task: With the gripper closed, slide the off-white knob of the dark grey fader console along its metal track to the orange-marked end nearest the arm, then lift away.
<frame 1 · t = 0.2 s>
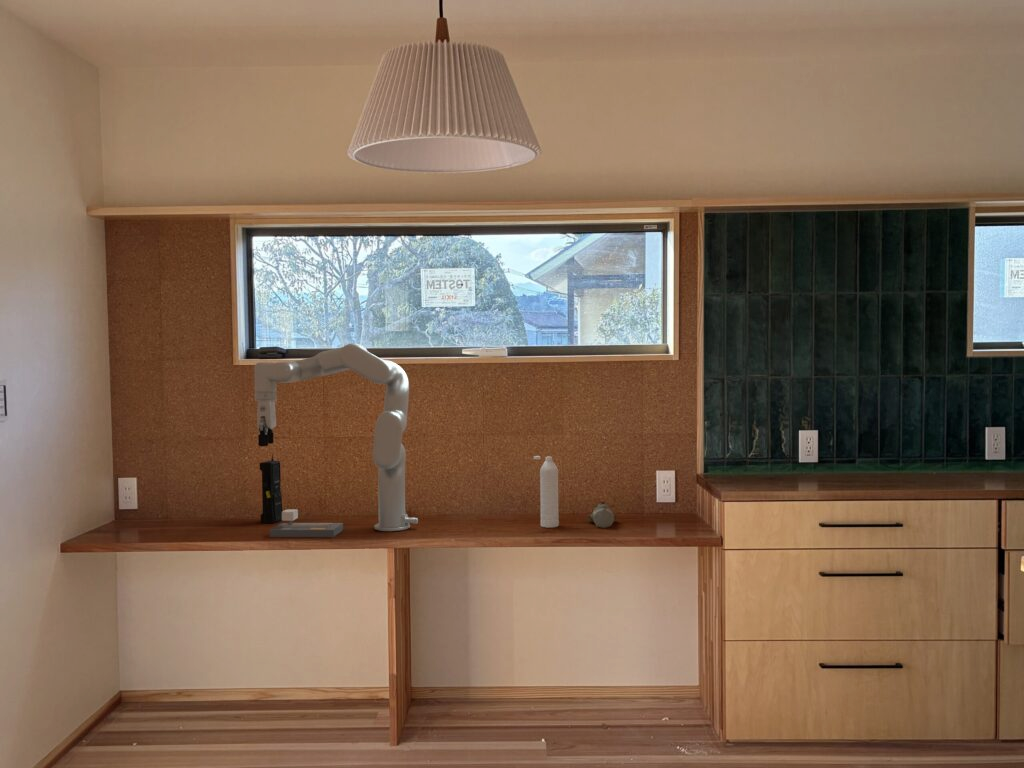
hand: (266, 444, 286), 30 cm above the table, fingers open, 9 cm apart
ceramic sculpture: (602, 525, 287), on the table
fader console: (307, 533, 278), on the table
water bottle: (546, 526, 286), on the table
portable radio: (271, 522, 300), on the table
fader knob: (289, 517, 278), point 5 cm above the table, slide at 0.0 cm
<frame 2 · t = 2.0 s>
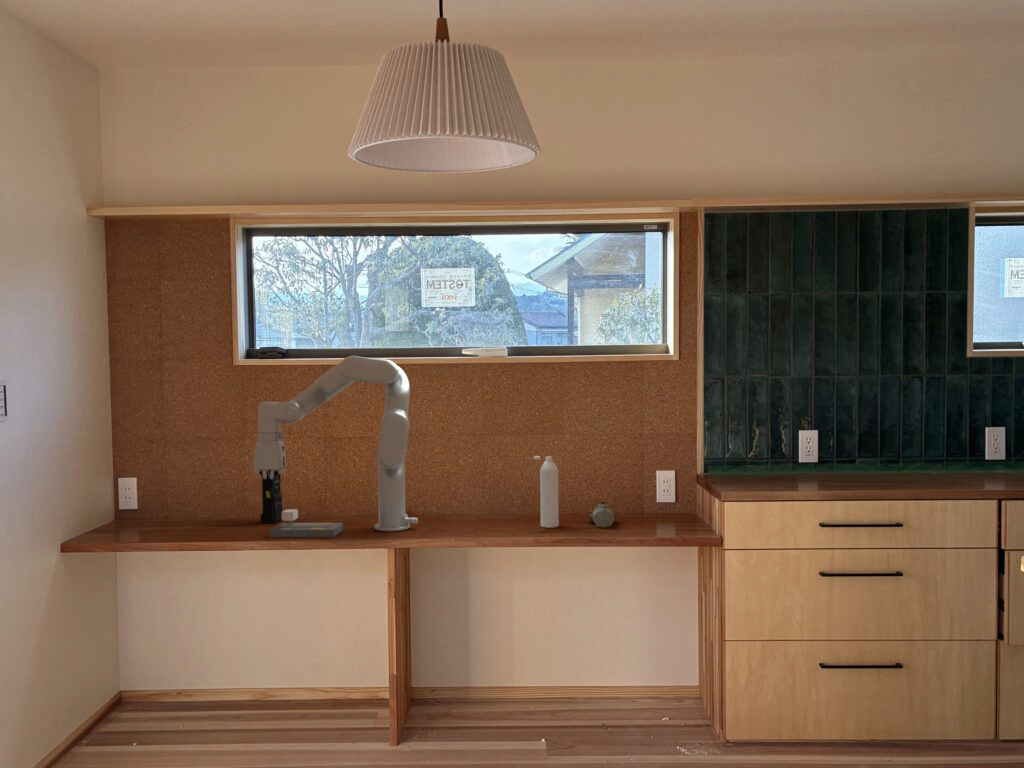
hand: (269, 489, 278), 15 cm above the table, fingers closed
nothing on the table moved.
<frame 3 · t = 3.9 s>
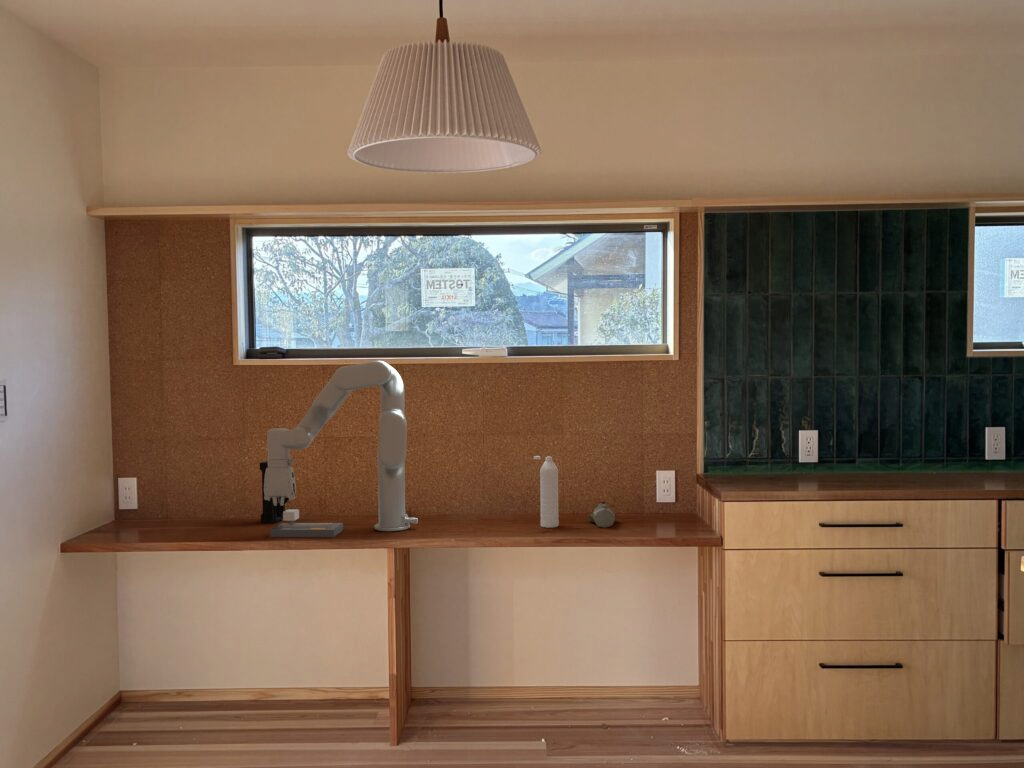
hand: (280, 516, 278), 6 cm above the table, fingers closed
fader knob: (291, 517, 278), point 5 cm above the table, slide at 0.4 cm, touching gripper
everything else where it was.
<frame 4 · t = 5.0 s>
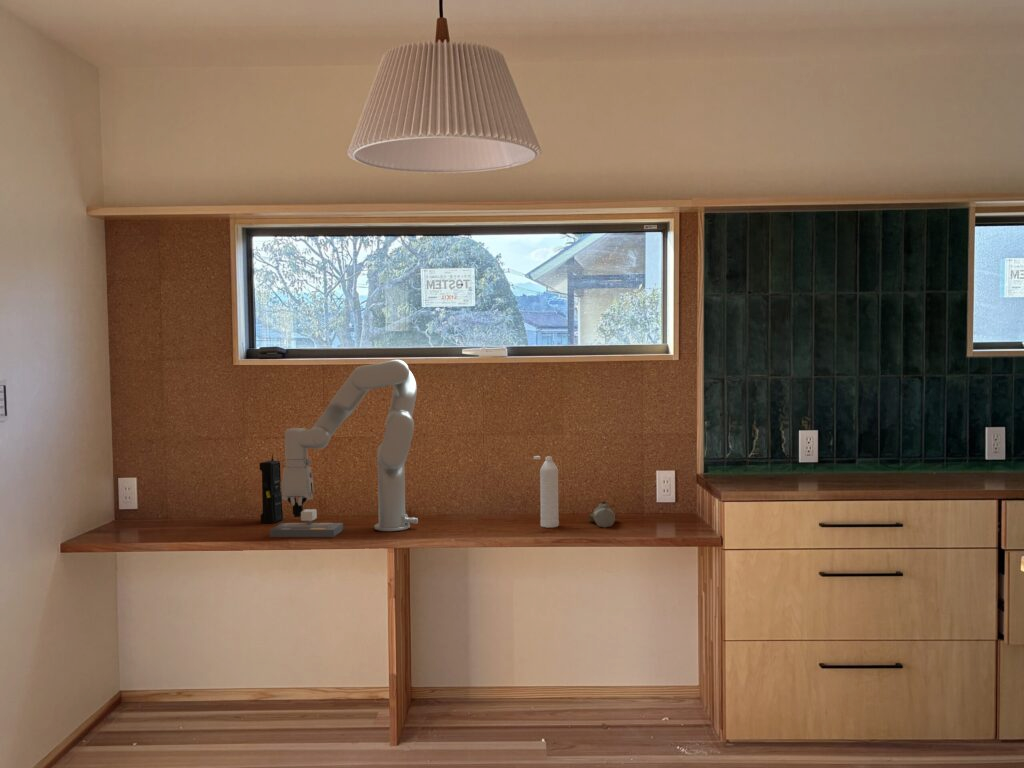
hand: (297, 516, 278), 6 cm above the table, fingers closed
fader knob: (308, 517, 278), point 5 cm above the table, slide at 6.7 cm, touching gripper
everything else where it was.
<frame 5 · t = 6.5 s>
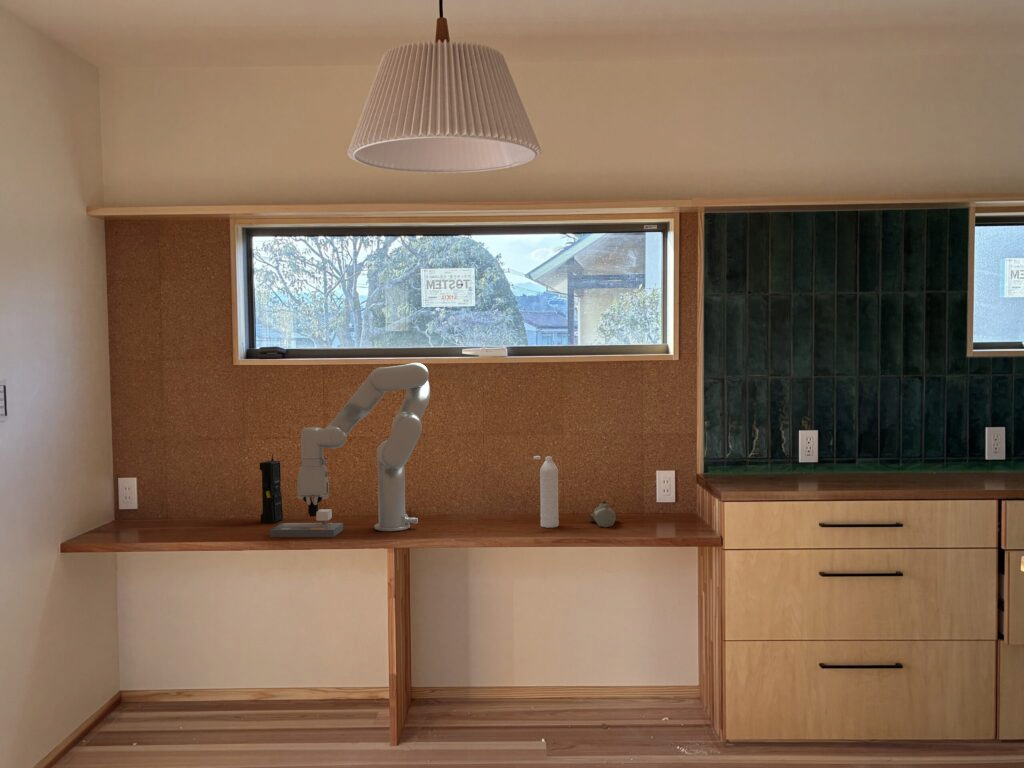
hand: (313, 515, 278), 6 cm above the table, fingers closed
fader knob: (324, 517, 277), point 5 cm above the table, slide at 12.1 cm, touching gripper
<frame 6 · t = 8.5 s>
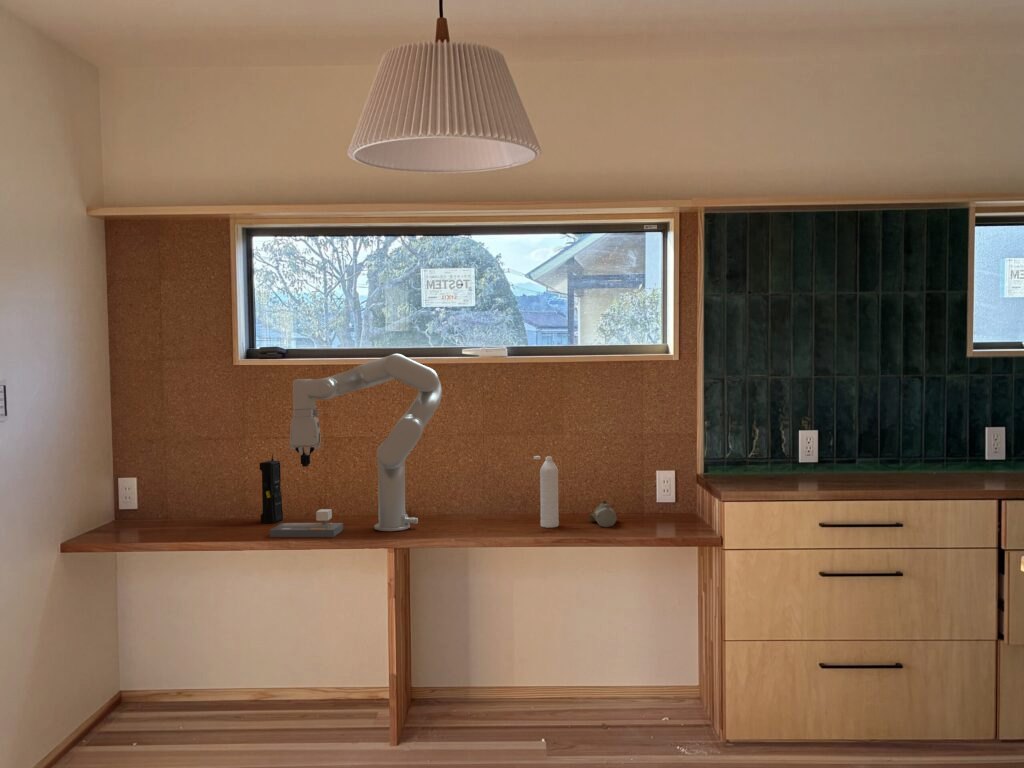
hand: (305, 466, 281), 23 cm above the table, fingers closed
fader knob: (324, 517, 277), point 5 cm above the table, slide at 12.1 cm
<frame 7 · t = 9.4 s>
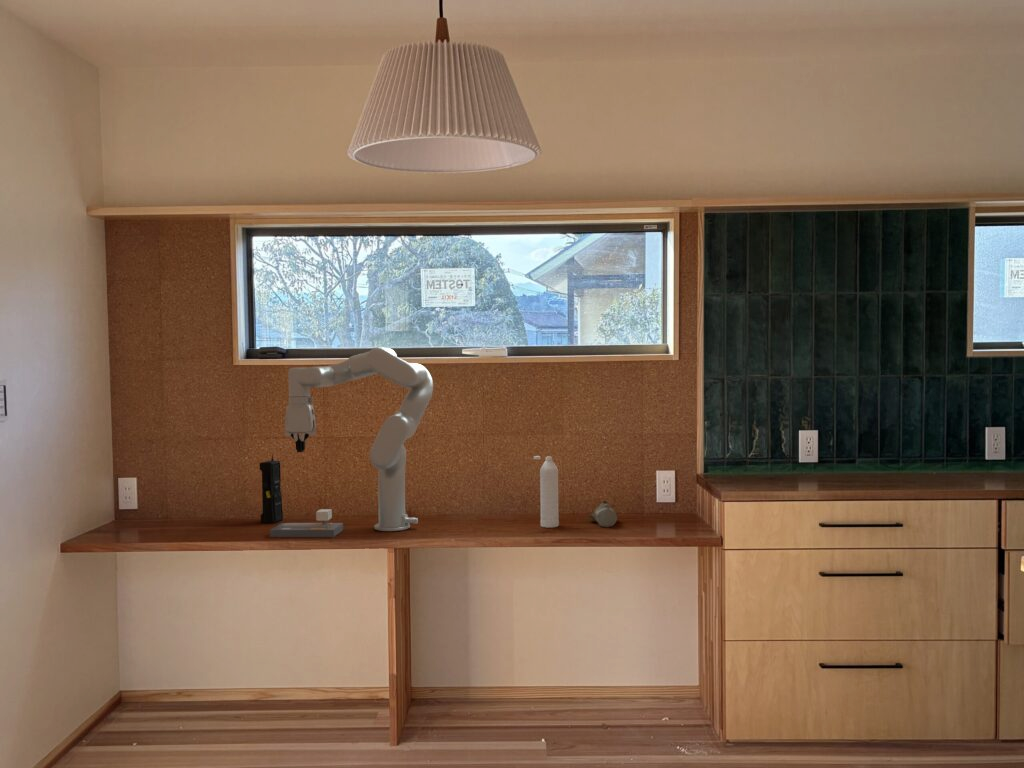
hand: (300, 451, 291), 27 cm above the table, fingers closed
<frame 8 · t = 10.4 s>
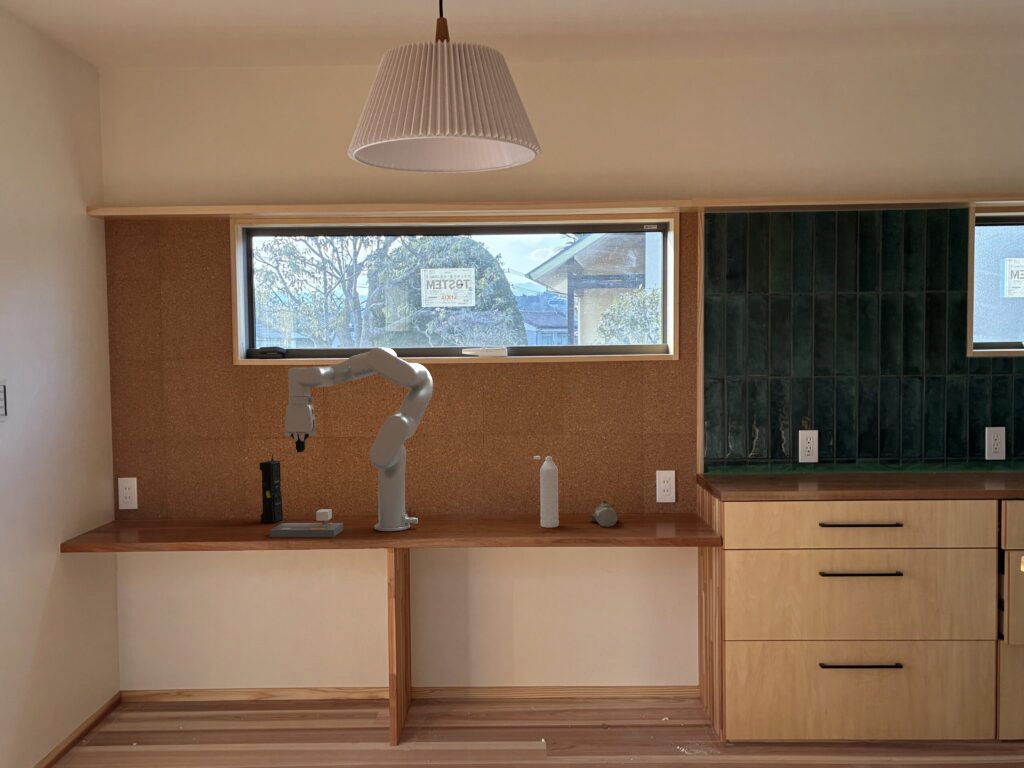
hand: (300, 451, 291), 27 cm above the table, fingers closed
at the end: fader knob slide at 12.1 cm; portable radio moved 0.2 cm from its start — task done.
